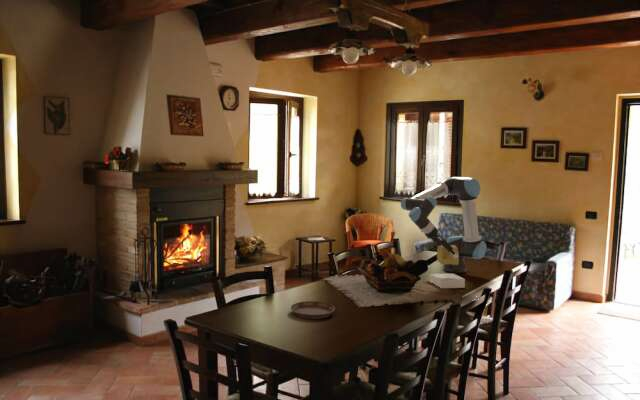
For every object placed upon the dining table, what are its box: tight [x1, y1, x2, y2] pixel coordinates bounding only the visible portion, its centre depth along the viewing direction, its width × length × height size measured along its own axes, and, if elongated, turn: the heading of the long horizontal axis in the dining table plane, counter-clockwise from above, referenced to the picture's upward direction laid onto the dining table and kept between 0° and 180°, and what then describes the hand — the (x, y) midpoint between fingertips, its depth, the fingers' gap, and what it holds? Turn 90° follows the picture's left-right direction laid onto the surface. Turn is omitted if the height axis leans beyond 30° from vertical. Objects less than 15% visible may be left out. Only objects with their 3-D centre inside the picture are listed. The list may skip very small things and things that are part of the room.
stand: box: [429, 273, 466, 289], centre depth 316 cm, size 15×15×5 cm
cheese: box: [436, 245, 459, 265], centre depth 314 cm, size 10×11×10 cm
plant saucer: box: [290, 300, 336, 320], centre depth 250 cm, size 21×21×3 cm
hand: (452, 255), depth 315 cm, fingers closed on cheese, 11 cm apart
